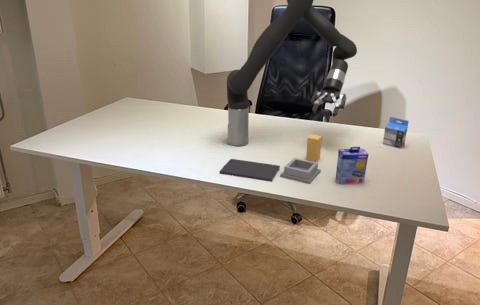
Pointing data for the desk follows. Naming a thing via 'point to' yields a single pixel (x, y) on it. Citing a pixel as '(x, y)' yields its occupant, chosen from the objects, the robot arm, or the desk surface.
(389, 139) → the blue grey product box
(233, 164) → the notebook
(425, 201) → the desk surface
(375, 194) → the desk surface
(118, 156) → the desk surface
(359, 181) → the ink cartridge box
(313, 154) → the orange cap block
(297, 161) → the square socket
